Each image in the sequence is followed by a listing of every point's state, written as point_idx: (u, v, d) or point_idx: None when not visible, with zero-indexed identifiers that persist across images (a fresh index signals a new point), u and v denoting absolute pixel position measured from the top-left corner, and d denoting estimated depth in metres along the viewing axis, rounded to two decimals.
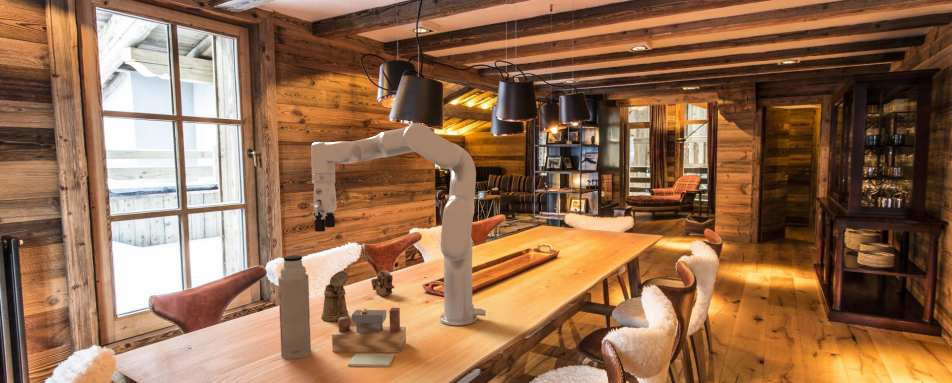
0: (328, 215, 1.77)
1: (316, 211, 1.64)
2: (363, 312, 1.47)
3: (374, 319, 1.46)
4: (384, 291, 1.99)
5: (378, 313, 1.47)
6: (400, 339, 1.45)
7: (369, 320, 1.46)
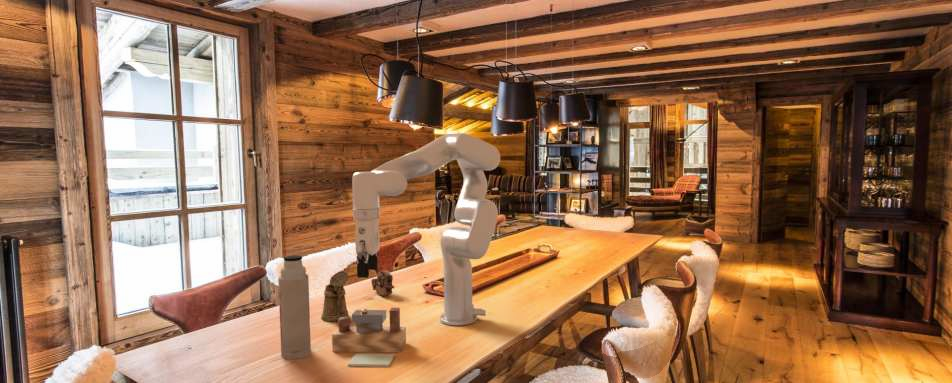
0: (370, 256, 1.51)
1: (359, 254, 1.38)
2: (363, 312, 1.47)
3: (374, 319, 1.46)
4: (384, 291, 1.99)
5: (378, 313, 1.47)
6: (400, 339, 1.45)
7: (369, 320, 1.46)
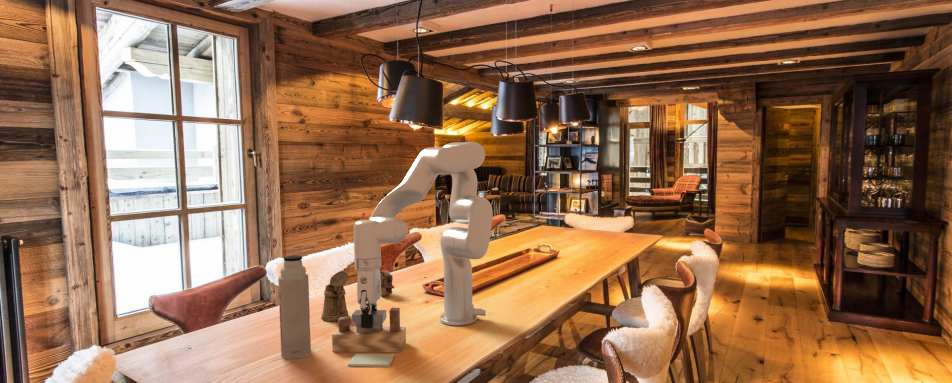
0: None
1: (363, 309, 1.41)
2: None
3: (374, 319, 1.46)
4: (384, 291, 1.99)
5: (378, 313, 1.47)
6: (400, 339, 1.45)
7: None
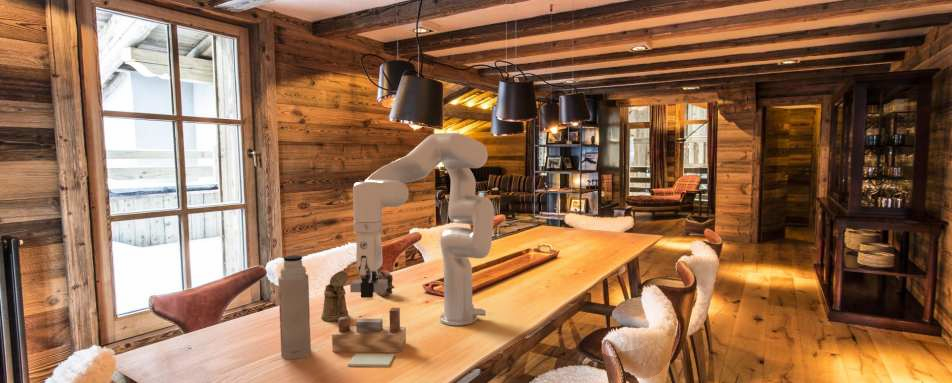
0: None
1: (363, 276, 1.30)
2: None
3: (374, 288, 1.35)
4: None
5: (378, 282, 1.36)
6: (400, 339, 1.45)
7: None
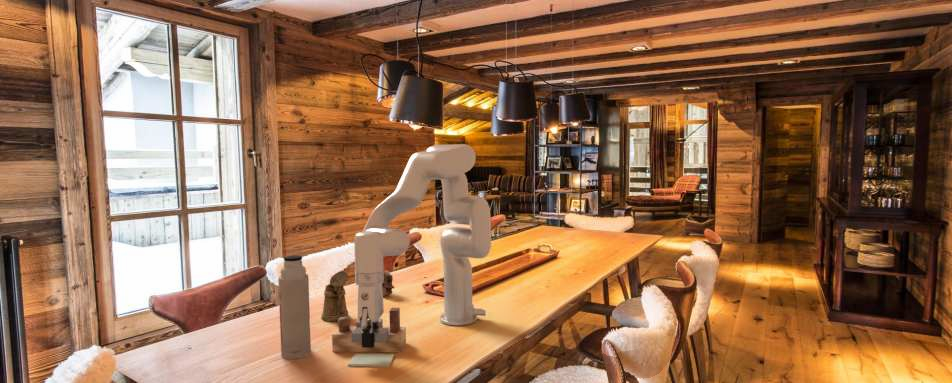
0: None
1: (364, 328, 1.31)
2: None
3: (375, 338, 1.36)
4: (384, 291, 1.99)
5: (379, 331, 1.37)
6: (400, 339, 1.45)
7: None
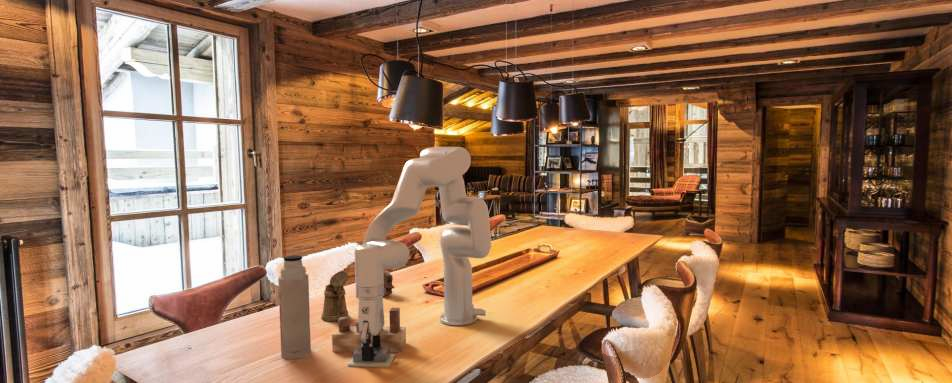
0: (372, 335, 1.41)
1: (364, 340, 1.31)
2: None
3: (377, 358, 1.36)
4: (384, 291, 1.99)
5: (381, 351, 1.37)
6: (400, 339, 1.45)
7: None
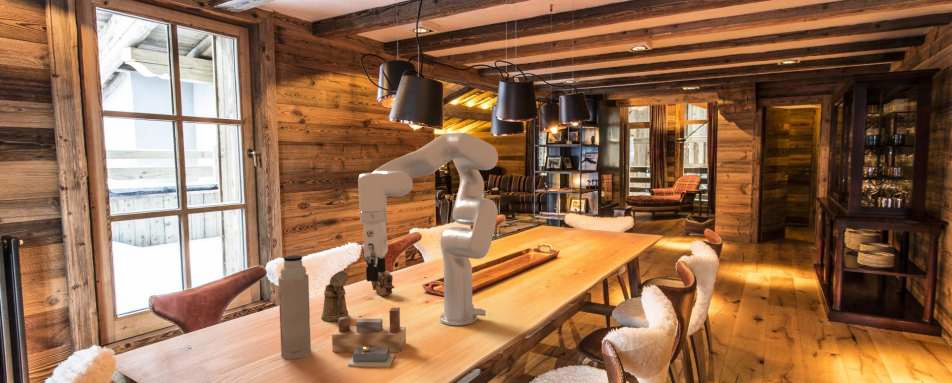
0: (378, 258, 1.49)
1: (369, 258, 1.36)
2: (365, 350, 1.38)
3: (377, 358, 1.36)
4: (384, 291, 1.99)
5: (381, 351, 1.37)
6: (400, 339, 1.45)
7: (371, 359, 1.36)
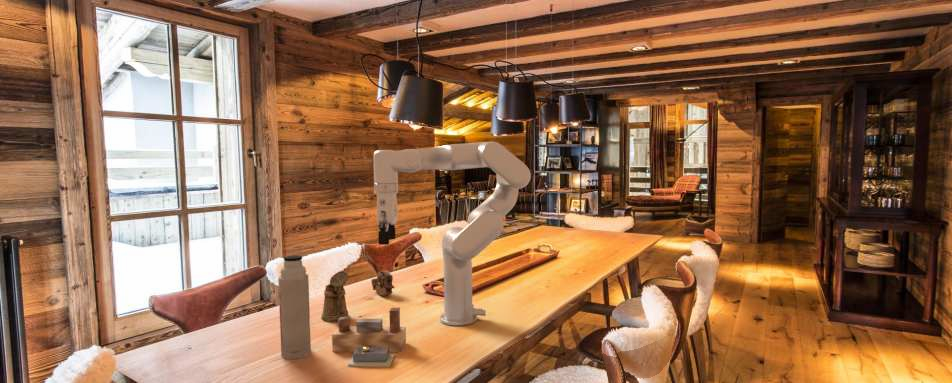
0: (389, 226, 1.68)
1: (381, 223, 1.55)
2: (365, 350, 1.38)
3: (377, 358, 1.36)
4: (384, 291, 1.99)
5: (381, 351, 1.37)
6: (400, 339, 1.45)
7: (371, 359, 1.36)
